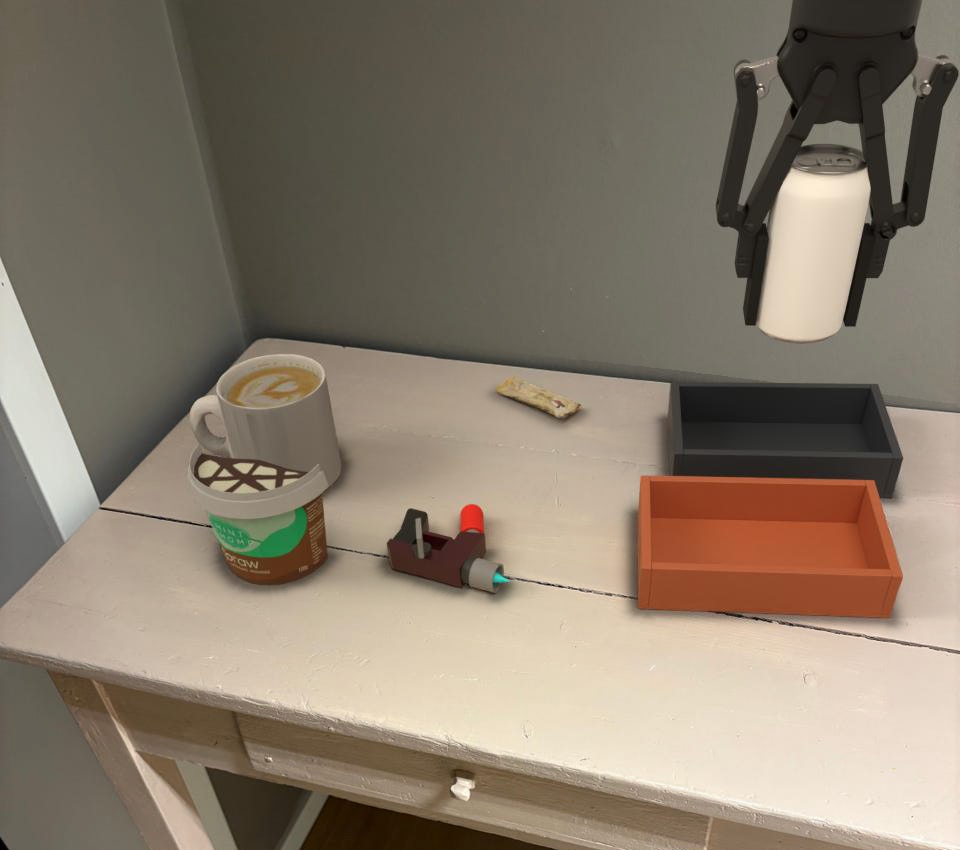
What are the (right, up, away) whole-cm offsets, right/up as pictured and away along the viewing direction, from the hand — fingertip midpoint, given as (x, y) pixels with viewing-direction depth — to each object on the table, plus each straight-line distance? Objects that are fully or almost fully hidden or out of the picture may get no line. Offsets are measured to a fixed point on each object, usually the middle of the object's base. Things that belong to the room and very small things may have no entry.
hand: (798, 317), depth 74 cm
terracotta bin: (-1, -18, +9) cm, 20 cm away
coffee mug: (-44, -8, +23) cm, 50 cm away
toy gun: (-25, -17, +12) cm, 33 cm away
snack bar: (-18, 0, +29) cm, 34 cm away
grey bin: (+4, -7, +20) cm, 22 cm away
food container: (-43, -18, +12) cm, 48 cm away
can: (0, -1, +1) cm, 1 cm away
